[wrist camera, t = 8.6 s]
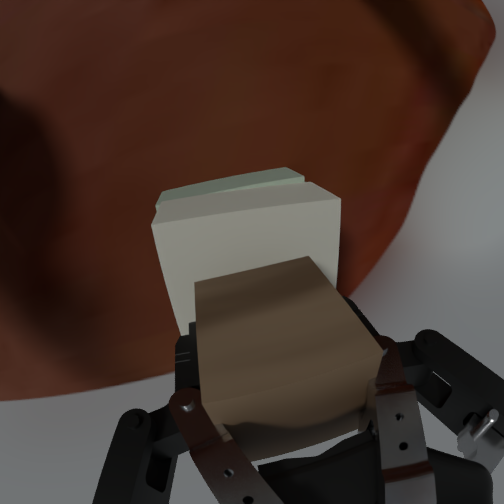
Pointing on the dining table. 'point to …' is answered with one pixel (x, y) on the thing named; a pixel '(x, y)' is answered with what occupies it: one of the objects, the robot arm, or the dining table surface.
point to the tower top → (243, 236)
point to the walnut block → (281, 357)
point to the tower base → (234, 184)
